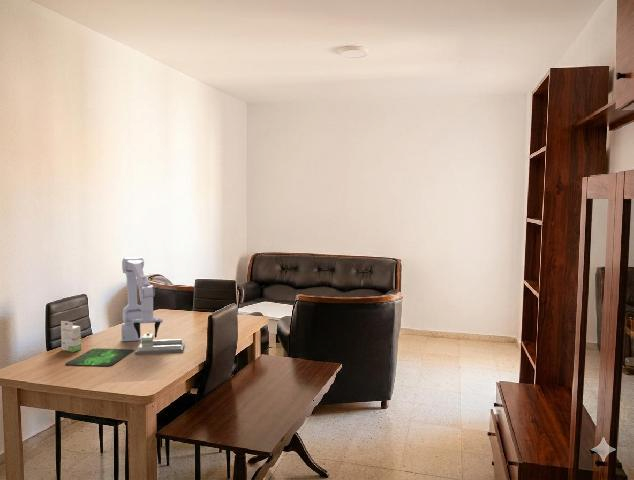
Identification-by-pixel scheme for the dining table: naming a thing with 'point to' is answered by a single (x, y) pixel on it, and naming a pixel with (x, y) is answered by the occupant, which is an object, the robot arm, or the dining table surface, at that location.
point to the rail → (158, 342)
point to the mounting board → (161, 350)
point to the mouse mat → (100, 357)
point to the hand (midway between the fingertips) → (147, 337)
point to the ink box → (70, 336)
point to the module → (147, 339)
